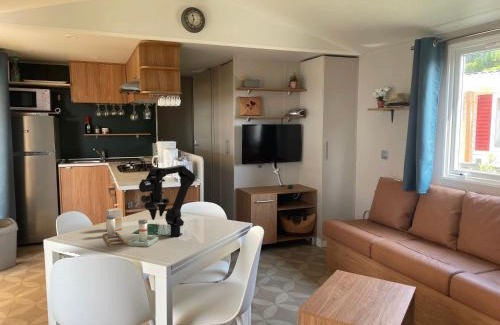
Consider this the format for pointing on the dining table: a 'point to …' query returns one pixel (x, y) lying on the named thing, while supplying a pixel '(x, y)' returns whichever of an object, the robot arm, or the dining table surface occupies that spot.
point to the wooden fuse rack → (115, 239)
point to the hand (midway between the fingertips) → (157, 218)
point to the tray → (136, 242)
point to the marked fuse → (143, 231)
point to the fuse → (111, 225)
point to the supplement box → (118, 217)
